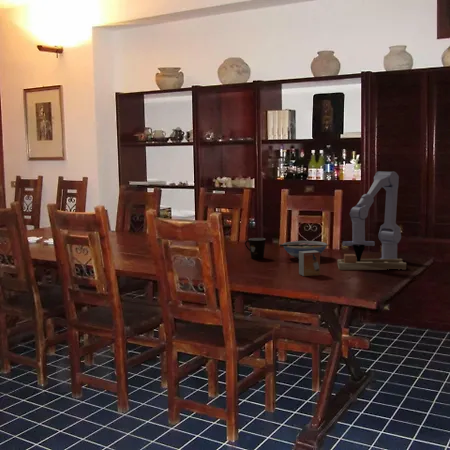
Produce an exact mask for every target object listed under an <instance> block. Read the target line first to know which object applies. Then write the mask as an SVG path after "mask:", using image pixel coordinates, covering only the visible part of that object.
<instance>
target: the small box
mask: <svg viewBox="0 0 450 450" xmlns="http://www.w3.org/2000/svg"><path fill="white" fill-rule="evenodd" d="M298 274H299V275H301V276H302V277H308V276H311V277H312V276H321V254H320V252H318V251H316V250H313V251H299V259H298Z"/></svg>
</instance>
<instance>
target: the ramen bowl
mask: <svg viewBox="0 0 450 450" xmlns="http://www.w3.org/2000/svg"><path fill="white" fill-rule="evenodd" d="M327 246H329V247H331V244H328V243H326V242H323V241H316V240H296V241H293V240H292V241H288V242H283V243H282V244H280V245H279V247H283V249H284V250H285V251H286V252H287V254H289V255H290V256H291V257H295V258H296V259H298V260H299V251H313V250H316V251H318V252H320V255H322V253H323V252H324V251H325V249H326V248H327Z"/></svg>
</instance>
